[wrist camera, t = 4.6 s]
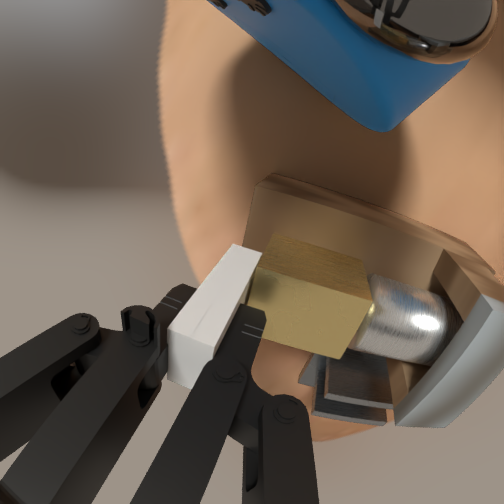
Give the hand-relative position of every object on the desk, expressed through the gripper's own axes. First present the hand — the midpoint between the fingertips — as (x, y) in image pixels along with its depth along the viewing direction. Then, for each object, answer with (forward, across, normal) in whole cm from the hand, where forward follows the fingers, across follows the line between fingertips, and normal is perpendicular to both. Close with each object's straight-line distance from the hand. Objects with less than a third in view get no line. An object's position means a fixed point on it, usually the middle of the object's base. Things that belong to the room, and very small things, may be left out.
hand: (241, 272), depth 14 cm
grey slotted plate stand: (+7, +12, -10) cm, 17 cm away
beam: (+7, +12, 0) cm, 14 cm away
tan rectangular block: (+2, +3, 0) cm, 4 cm away
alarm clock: (+7, 0, +14) cm, 16 cm away
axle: (+2, +11, 0) cm, 12 cm away
